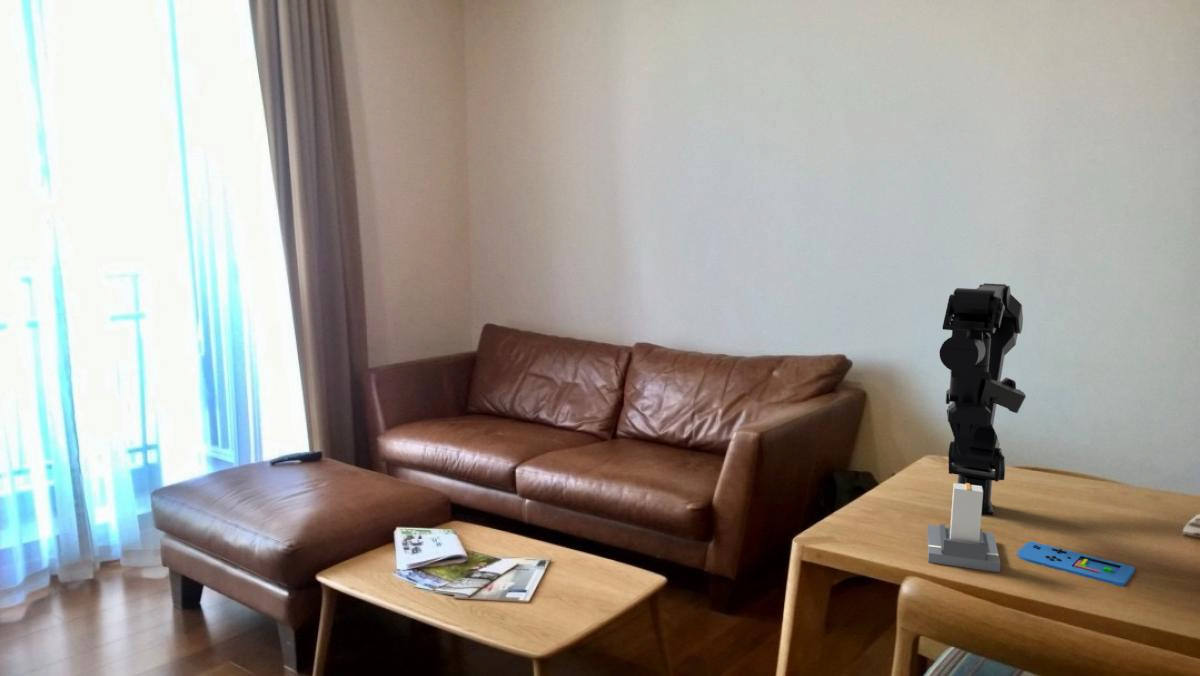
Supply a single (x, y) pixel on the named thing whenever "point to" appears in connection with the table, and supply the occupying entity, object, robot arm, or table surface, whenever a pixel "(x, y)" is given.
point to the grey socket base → (962, 550)
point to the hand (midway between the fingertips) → (963, 455)
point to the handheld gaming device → (1076, 563)
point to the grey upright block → (966, 512)
